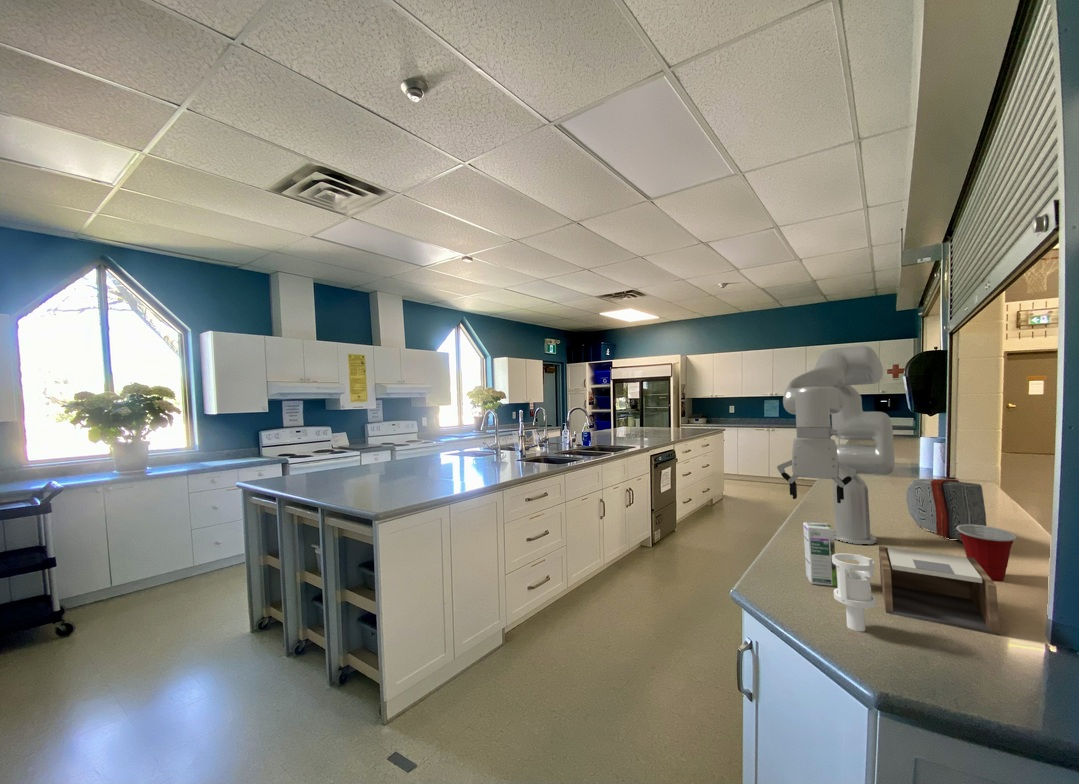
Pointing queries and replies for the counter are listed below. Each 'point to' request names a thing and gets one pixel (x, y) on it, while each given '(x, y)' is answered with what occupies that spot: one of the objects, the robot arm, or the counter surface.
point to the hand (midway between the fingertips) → (816, 500)
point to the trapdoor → (933, 564)
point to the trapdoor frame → (940, 597)
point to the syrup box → (819, 553)
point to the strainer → (854, 588)
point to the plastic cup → (988, 548)
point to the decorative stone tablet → (945, 505)
